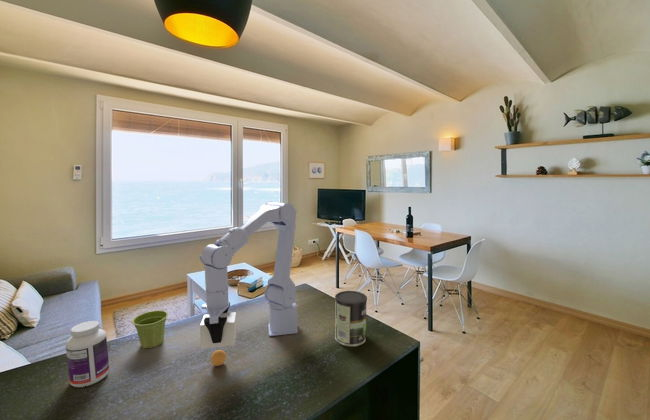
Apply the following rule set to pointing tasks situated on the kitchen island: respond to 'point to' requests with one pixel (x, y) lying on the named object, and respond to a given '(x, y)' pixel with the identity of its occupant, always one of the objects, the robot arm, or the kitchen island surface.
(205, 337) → the white rectangular prism
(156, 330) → the plant pot
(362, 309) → the coffee can
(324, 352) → the kitchen island surface
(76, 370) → the pill bottle
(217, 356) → the ball
